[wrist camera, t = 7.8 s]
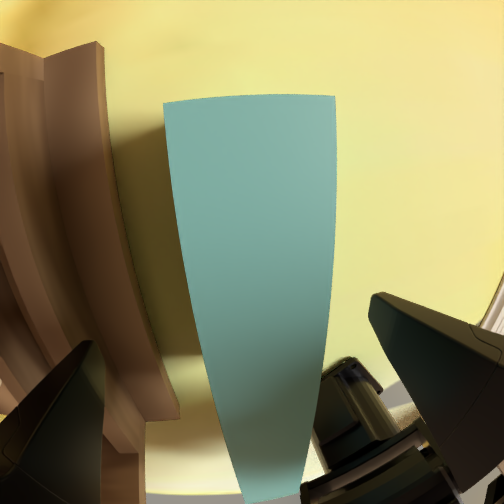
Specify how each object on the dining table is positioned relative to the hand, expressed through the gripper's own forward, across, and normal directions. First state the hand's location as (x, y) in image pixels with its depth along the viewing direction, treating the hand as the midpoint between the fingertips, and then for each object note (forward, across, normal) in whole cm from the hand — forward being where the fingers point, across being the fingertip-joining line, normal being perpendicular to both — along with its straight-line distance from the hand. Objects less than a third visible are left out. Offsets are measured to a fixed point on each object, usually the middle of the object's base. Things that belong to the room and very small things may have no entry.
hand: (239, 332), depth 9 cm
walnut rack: (+5, +13, 0) cm, 14 cm away
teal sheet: (+6, 0, 0) cm, 6 cm away
